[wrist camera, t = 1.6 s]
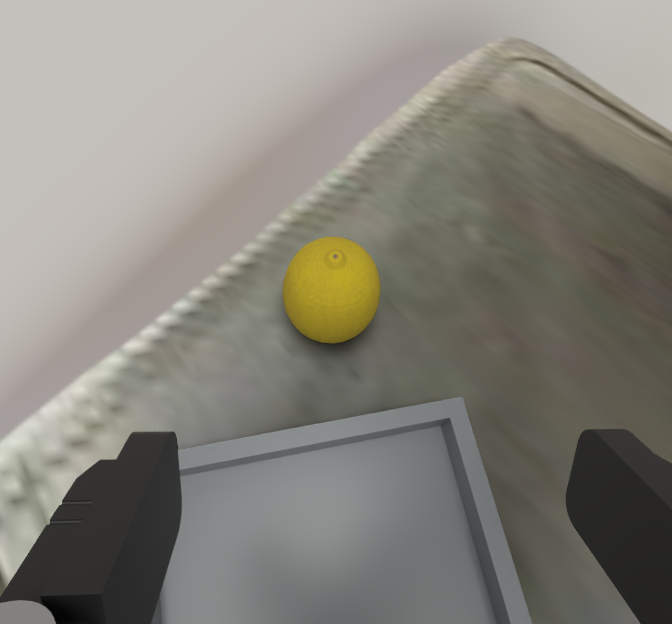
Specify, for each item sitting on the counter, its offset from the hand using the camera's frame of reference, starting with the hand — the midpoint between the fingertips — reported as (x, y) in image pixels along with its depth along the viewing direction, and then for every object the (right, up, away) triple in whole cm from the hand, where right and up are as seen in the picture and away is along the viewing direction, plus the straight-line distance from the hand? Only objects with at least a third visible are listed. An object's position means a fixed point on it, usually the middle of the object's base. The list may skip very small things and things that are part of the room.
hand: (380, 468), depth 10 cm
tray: (-2, -10, +16) cm, 19 cm away
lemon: (-1, +2, +23) cm, 23 cm away
